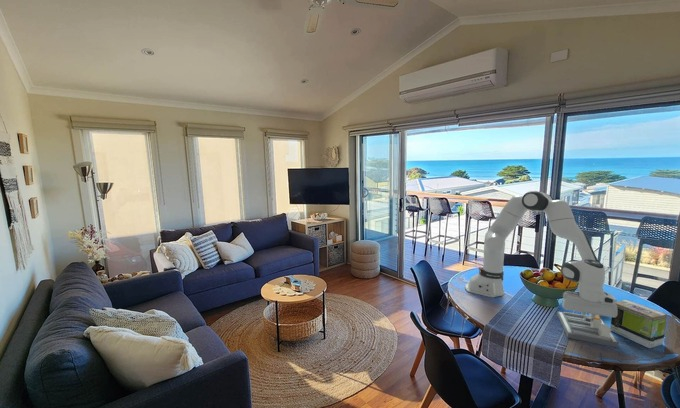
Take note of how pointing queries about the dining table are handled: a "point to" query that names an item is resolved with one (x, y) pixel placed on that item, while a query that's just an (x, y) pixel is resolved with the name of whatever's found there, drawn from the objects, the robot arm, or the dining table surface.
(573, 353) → the dining table surface
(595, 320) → the breaker
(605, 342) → the panel
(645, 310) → the tea box
